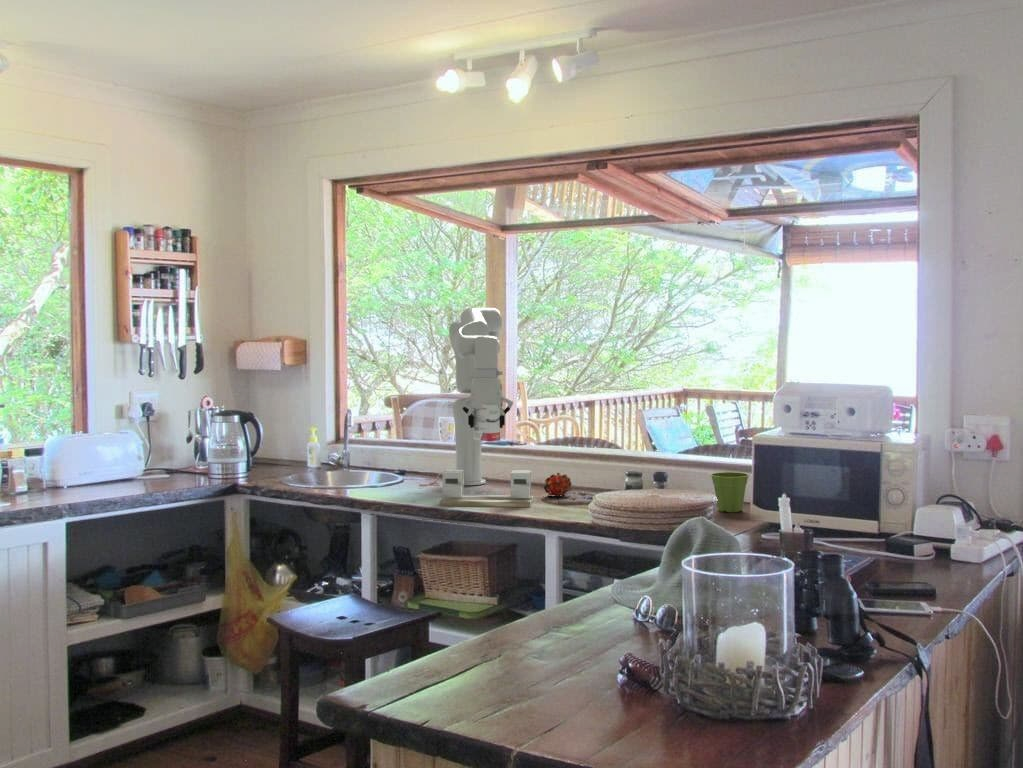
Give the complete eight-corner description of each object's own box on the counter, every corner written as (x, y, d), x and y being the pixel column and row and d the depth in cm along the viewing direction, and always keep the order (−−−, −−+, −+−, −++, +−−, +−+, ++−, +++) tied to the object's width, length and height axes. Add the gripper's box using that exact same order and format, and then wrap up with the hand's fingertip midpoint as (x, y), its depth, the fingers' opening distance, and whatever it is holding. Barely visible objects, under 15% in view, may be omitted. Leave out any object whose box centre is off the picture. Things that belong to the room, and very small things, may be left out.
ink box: (500, 440, 309) (500, 403, 308) (488, 441, 306) (488, 404, 305) (484, 438, 316) (484, 402, 315) (472, 439, 313) (472, 403, 312)
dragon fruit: (572, 499, 329) (548, 508, 321) (556, 482, 333) (532, 491, 325) (581, 481, 324) (557, 490, 316) (564, 464, 328) (540, 473, 320)
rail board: (445, 499, 319) (445, 468, 318) (533, 500, 316) (533, 469, 316) (439, 505, 307) (439, 473, 306) (530, 506, 304) (530, 474, 304)
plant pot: (731, 506, 303) (731, 470, 303) (757, 512, 293) (758, 475, 292) (701, 509, 298) (702, 473, 297) (727, 515, 287) (727, 477, 287)
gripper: (514, 374, 313) (514, 426, 313) (461, 374, 314) (461, 426, 315) (511, 374, 305) (512, 428, 306) (457, 374, 307) (458, 428, 308)
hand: (486, 427), depth 310 cm, fingers closed on ink box, 9 cm apart
